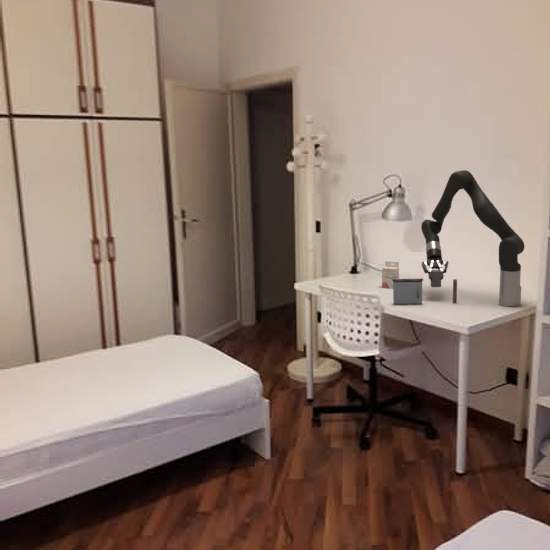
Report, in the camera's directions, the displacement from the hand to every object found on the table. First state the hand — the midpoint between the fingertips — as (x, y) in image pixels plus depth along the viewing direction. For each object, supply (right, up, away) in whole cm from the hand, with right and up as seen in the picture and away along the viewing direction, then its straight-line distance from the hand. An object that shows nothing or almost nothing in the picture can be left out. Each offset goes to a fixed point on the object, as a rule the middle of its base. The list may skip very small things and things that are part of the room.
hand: (436, 279), depth 293 cm
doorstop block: (0, -4, +3) cm, 5 cm away
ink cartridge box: (-16, -5, +36) cm, 40 cm away
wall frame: (-7, -12, -2) cm, 14 cm away
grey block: (-15, -12, -3) cm, 20 cm away
